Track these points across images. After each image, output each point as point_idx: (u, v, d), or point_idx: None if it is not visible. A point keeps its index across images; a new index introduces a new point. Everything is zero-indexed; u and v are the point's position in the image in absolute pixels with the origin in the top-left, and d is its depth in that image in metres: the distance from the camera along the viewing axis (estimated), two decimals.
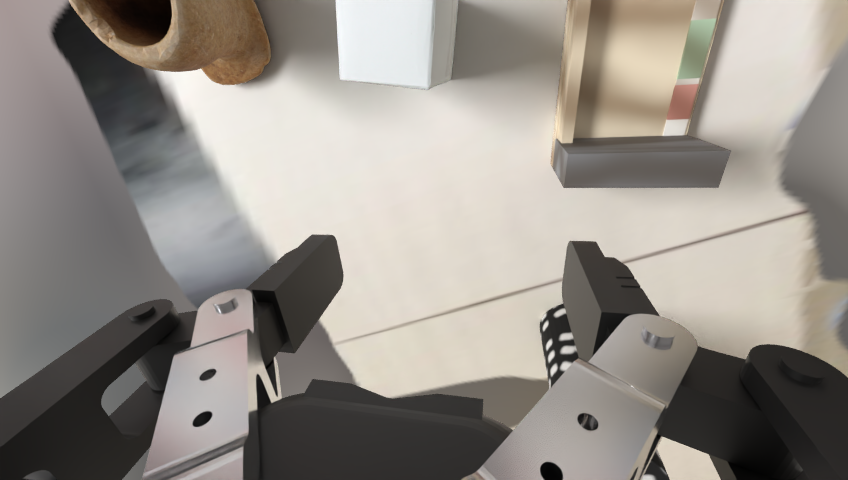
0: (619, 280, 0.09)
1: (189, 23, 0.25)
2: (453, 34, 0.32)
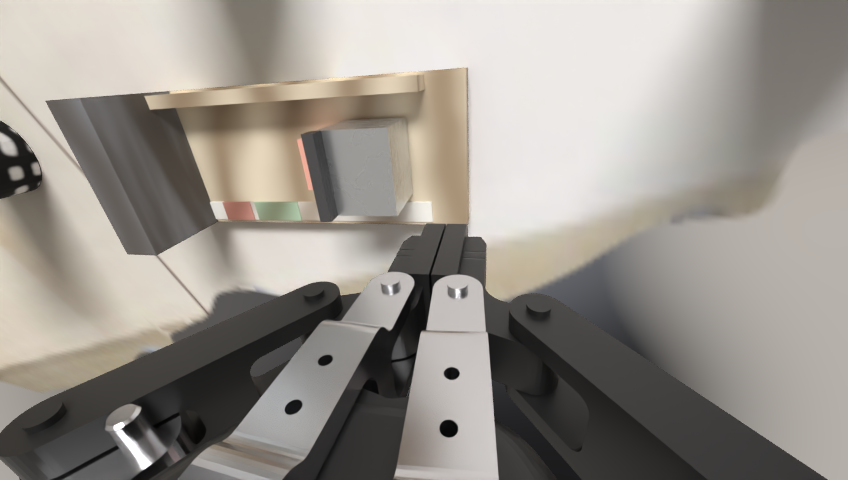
0: (472, 254, 0.11)
1: None
2: None
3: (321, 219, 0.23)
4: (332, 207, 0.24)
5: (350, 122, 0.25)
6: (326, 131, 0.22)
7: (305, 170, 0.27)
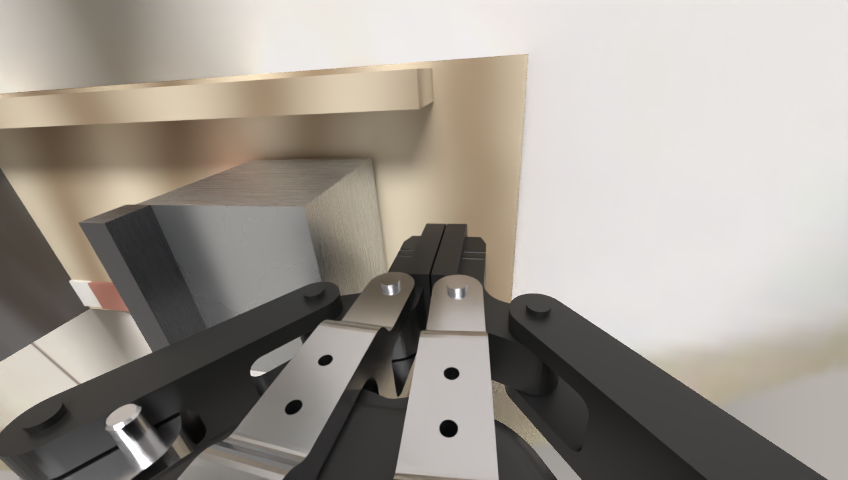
0: (472, 254, 0.11)
1: None
2: None
3: None
4: None
5: (253, 169, 0.12)
6: (162, 207, 0.09)
7: None
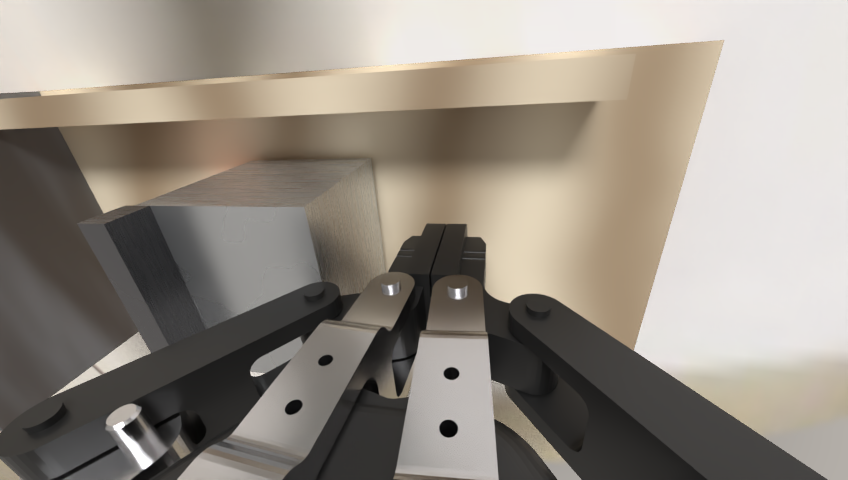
0: (472, 254, 0.11)
1: None
2: None
3: None
4: None
5: (252, 170, 0.12)
6: (162, 208, 0.09)
7: None
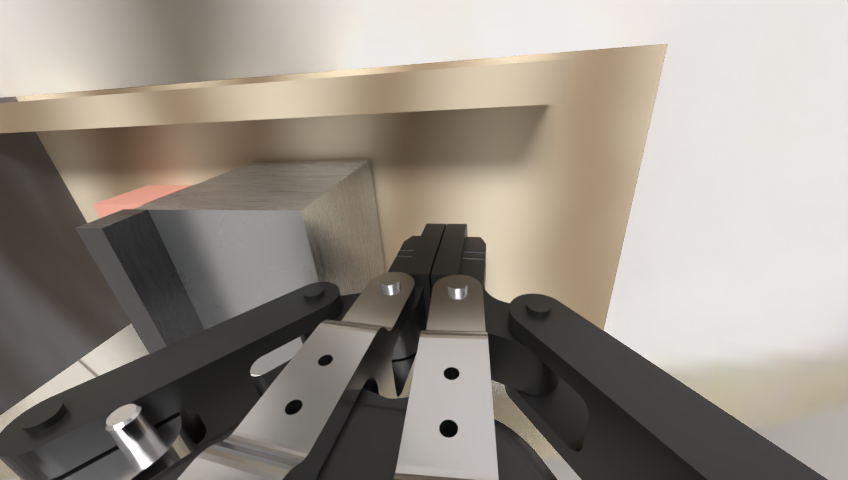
0: (472, 254, 0.11)
1: None
2: None
3: None
4: None
5: (251, 172, 0.12)
6: (160, 211, 0.09)
7: None
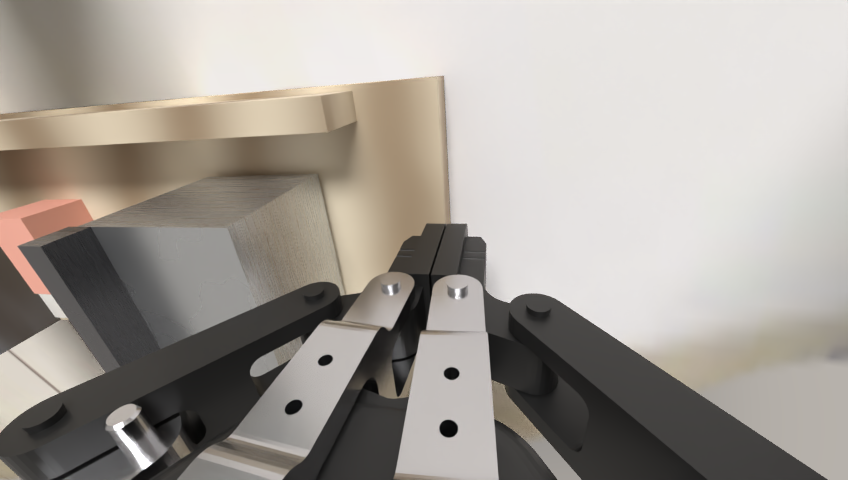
0: (472, 254, 0.11)
1: None
2: None
3: None
4: None
5: (202, 188, 0.12)
6: (101, 229, 0.09)
7: (15, 265, 0.16)
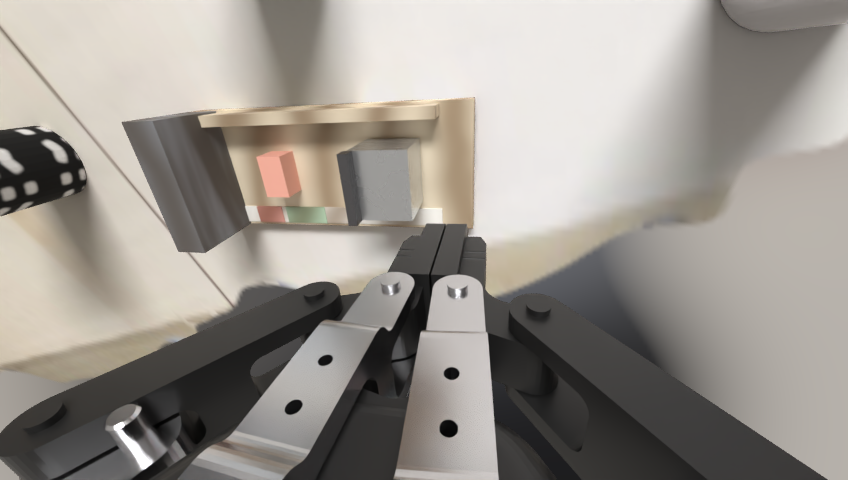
0: (472, 254, 0.11)
1: None
2: None
3: (349, 223, 0.28)
4: (358, 213, 0.28)
5: (373, 142, 0.29)
6: (356, 151, 0.27)
7: (264, 181, 0.33)
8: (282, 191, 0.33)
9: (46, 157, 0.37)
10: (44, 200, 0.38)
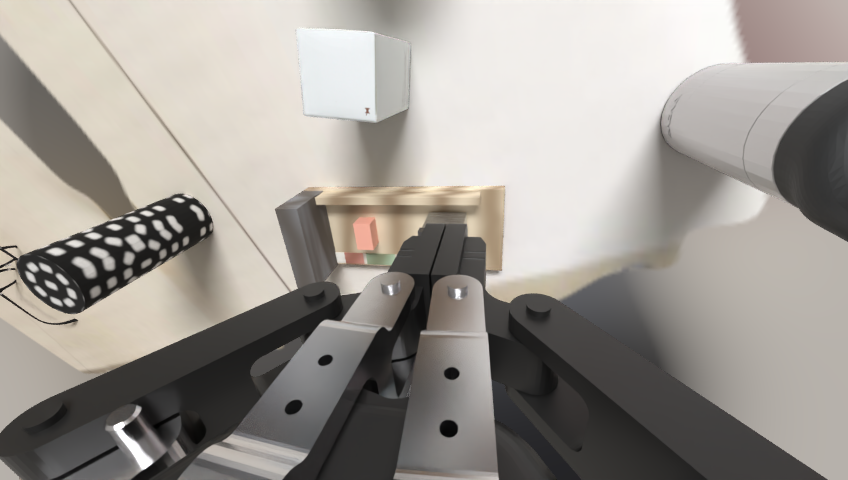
0: (472, 254, 0.11)
1: None
2: None
3: None
4: None
5: (435, 216, 0.44)
6: None
7: (356, 239, 0.47)
8: (369, 246, 0.47)
9: (193, 218, 0.52)
10: (189, 247, 0.53)
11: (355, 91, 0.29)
